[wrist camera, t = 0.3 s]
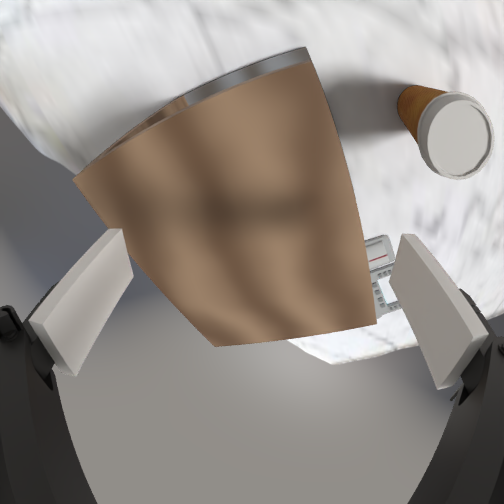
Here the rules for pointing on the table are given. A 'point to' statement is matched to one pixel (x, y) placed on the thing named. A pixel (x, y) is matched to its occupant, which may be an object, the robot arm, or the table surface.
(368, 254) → the office telephone
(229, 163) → the walnut overhang shelf
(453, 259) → the table surface
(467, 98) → the disposable coffee cup
